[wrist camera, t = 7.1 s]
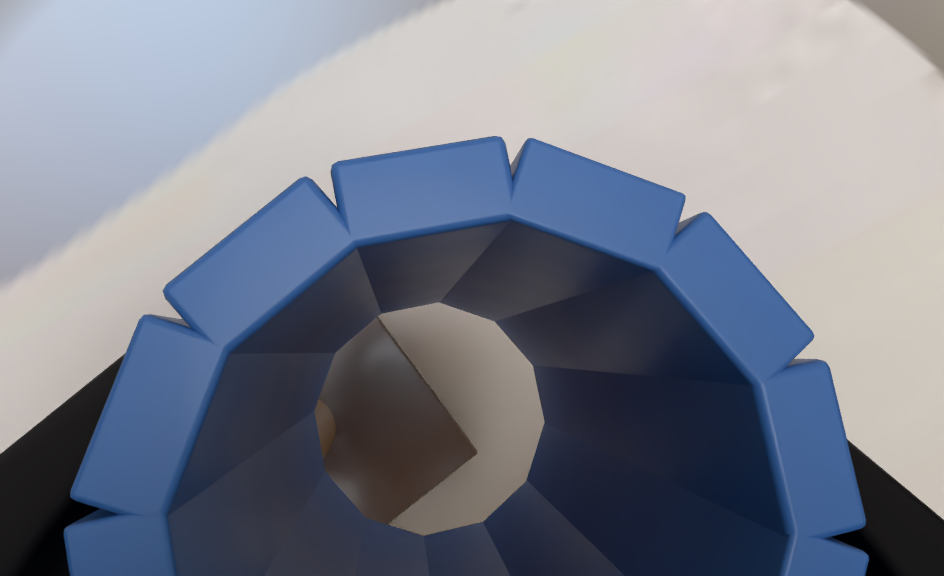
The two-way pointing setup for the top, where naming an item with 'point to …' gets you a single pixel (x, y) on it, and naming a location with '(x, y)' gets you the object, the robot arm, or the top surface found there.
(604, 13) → the top surface
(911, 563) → the robot arm
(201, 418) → the blue ribbed vase
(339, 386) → the stand
